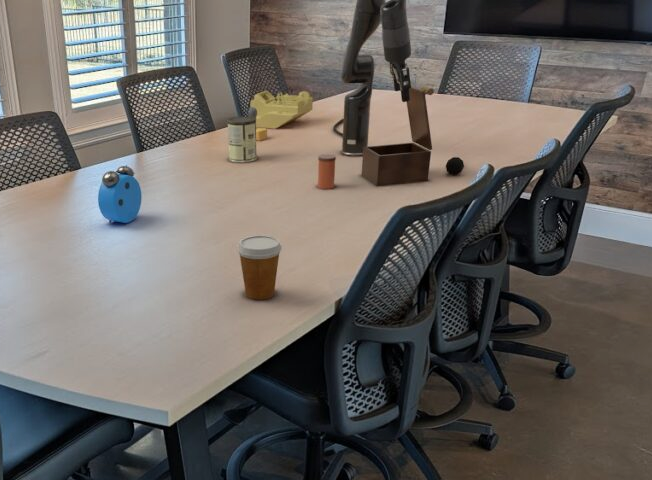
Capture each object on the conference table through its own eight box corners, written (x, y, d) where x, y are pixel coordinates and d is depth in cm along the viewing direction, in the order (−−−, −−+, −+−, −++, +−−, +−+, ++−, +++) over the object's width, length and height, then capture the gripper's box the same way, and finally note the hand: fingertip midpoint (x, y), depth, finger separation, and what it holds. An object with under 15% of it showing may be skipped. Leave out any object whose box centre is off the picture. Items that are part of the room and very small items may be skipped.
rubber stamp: (239, 138, 293) (238, 107, 287) (247, 135, 297) (246, 104, 291) (259, 140, 288) (258, 109, 281) (267, 138, 292) (267, 106, 285)
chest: (376, 186, 228) (378, 156, 223) (361, 175, 239) (363, 146, 234) (427, 181, 230) (431, 151, 226) (410, 170, 241) (413, 142, 237)
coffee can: (235, 155, 269) (234, 115, 262) (261, 156, 265) (260, 116, 258) (224, 161, 261) (222, 121, 254) (250, 163, 257) (249, 122, 250)
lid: (422, 91, 215) (439, 85, 216) (403, 85, 227) (420, 79, 227) (430, 150, 225) (446, 144, 225) (412, 141, 236) (427, 135, 237)
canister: (315, 185, 231) (316, 155, 226) (331, 183, 232) (332, 153, 227) (320, 189, 226) (321, 159, 221) (336, 188, 227) (338, 157, 222)
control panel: (244, 92, 304) (265, 80, 317) (242, 129, 314) (262, 116, 328) (296, 104, 296) (315, 92, 309) (291, 142, 306) (310, 128, 320)
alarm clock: (127, 213, 213) (122, 162, 205) (144, 215, 210) (139, 164, 203) (100, 226, 203) (93, 173, 196) (118, 229, 201) (111, 175, 193)
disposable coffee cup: (253, 282, 165) (252, 232, 159) (289, 290, 160) (289, 239, 154) (230, 297, 159) (228, 245, 152) (266, 306, 154) (266, 253, 148)
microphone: (451, 170, 251) (447, 178, 234) (448, 153, 249) (443, 160, 232) (468, 166, 249) (464, 173, 232) (464, 149, 247) (461, 155, 230)
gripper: (416, 45, 199) (421, 101, 210) (402, 28, 209) (408, 83, 220) (389, 53, 200) (395, 108, 211) (377, 36, 210) (383, 90, 221)
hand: (402, 95), depth 215 cm, fingers open, 8 cm apart
